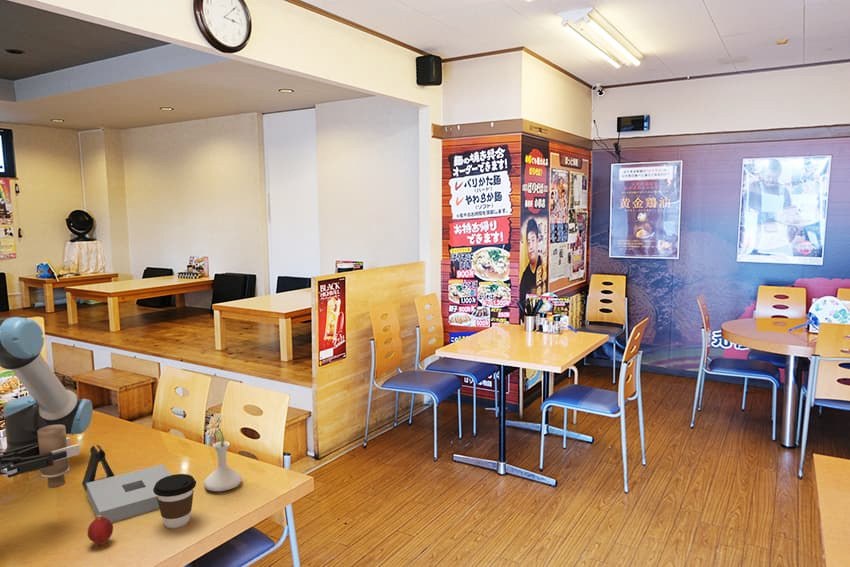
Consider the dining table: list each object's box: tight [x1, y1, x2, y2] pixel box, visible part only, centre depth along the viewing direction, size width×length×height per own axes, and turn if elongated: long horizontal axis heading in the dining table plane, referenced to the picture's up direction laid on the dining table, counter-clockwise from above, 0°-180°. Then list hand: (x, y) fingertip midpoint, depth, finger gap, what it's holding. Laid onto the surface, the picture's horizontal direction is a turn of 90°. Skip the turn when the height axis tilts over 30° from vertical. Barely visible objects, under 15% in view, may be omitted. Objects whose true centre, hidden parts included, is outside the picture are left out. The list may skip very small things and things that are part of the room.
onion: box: [87, 515, 114, 546], centre depth 154 cm, size 6×6×8 cm
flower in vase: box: [203, 412, 243, 492], centre depth 183 cm, size 13×11×25 cm
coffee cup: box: [153, 473, 197, 529], centre depth 164 cm, size 11×11×12 cm
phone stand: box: [81, 444, 115, 492], centre depth 187 cm, size 9×6×12 cm, turn 130°
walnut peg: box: [37, 424, 70, 489], centre depth 161 cm, size 7×7×16 cm
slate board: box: [86, 463, 172, 524], centre depth 178 cm, size 22×22×4 cm
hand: (74, 445), depth 164 cm, fingers closed on walnut peg, 6 cm apart
